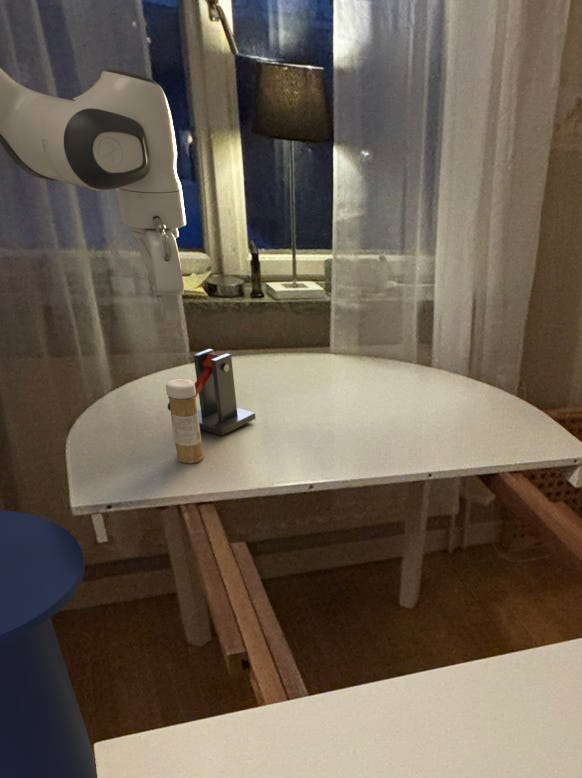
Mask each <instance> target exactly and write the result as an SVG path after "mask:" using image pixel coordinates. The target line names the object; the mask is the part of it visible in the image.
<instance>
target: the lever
mask: <svg viewBox="0 0 582 778" xmlns="http://www.w3.org/2000/svg"><path fill="white" fill-rule="evenodd" d="M219 356H220V355H218V354H215V353H214V354H212V353H209V355H208V356H207V358H206V359H205V360H204V362H203V363H202V365H203V366H204V368H205V370H204V371H203V373H202V374H201V375H200V377H199V378H198V380H197V379H196V381H195V382H194V384H195V390H196V397H195V399H196V398H197V396H199V392H200V391H201V389H202V388H203V386H204V385H205V383H206V382H207V381H208V379H209V378H210V376H211V375H212V374H213V372H212V364H211V359H214V358H217V357H219ZM167 409H168V411H170V403H169V402H168V404H167ZM170 412H171V411H170Z"/></svg>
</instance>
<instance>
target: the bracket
mask: <svg viewBox="0 0 582 778" xmlns="http://www.w3.org/2000/svg"><path fill="white" fill-rule="evenodd" d="M209 353H212V354H215V351H214V349H212V348H208V349H204V350H203V351H200V352H197V353H194V354H193V363H194V370H195V377H196V381H197V380H198V378H199V377H200V375H201V374H202V373H203V371H204V370H205V368H204V366H203V365H202V363H203V362H204V360H205V359H206V358H207V356H208V355H209ZM211 364H212V372H213V374H212V375H211V376H210V378H209V379H208V381H207V382H206V383H205V385H204V386H203V388H202V389H201V391H200V392H199V393H198V399H199V408H200V410H197V412H198V419H199V426H200V430H203V431H206V432H209V433H212V434H215V435H219V436H225V435H226V434H229V433H230V432H232V431H234V430H236V429H238V428H240V427H242V426H244V425H247V424H248V423H250V422H252V421H254V420H256V419H257V418H256V413H255V412H253V411H249V410H246V409H243V408H241V407H238V405H237V398H236V387H235V378H234V369H233V359H232V354H231V353H225V354H224V353H223V354H222V355H219V357H217V358H214V359H211Z"/></svg>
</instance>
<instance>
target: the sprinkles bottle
mask: <svg viewBox="0 0 582 778" xmlns="http://www.w3.org/2000/svg"><path fill="white" fill-rule="evenodd" d="M165 391H166V396H167V398H168V403H170V416H171V418H170V419H171V428H172V434H173V441H174V444H175V452H176V457H175V458H176V460H177V461H178V462H180V463H183V464H195V463H199V462H201V461H202V460H203V459H204V454H203V447H202V435H201V429H200V426H199V419H198V412H197V411H198V405H197V399H196V398H197V396H196V390H195V382H193V381H192V380H189V379H184V378H183V379H179V378H177V379H172V380H169V381H167V382H166V383H165ZM195 397H196V398H195Z"/></svg>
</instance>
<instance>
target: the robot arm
mask: <svg viewBox="0 0 582 778" xmlns="http://www.w3.org/2000/svg"><path fill="white" fill-rule="evenodd" d="M175 135H176V134H175V129H174V125H173V118H172V113H171V109H170V106H169V102H168V98H167V96H166V93H165V92H164V89H163V88H162V86H161V85H160V84H159V83H158V82H156V81H155V80H153V79H152V78H150V77H147V76H144V75H141V74H136V73H131V72H127V71H124V70H120V69H110V68H109V69H106V70H105V69H104V70H103V71H102V72H101V73H100V77H99V79H98V80H97V81H96V82H95V83H94V85H92V87H90V88H89V89H87V90H86V91H85V92H84V93H81V94H80V95H78V96H76V97H73V98H72V99H66V98H62V97H57V96H53V95H48V94H46V93H44V92H40V91H37V90H34V89H31V88H28V87H25V86H23V85H22V84H20V83H18V82H17V81H15V80H14V79H13V78H11V77H10V75H9V74H7V72H6V71H4V70H3V69H2V68H1V67H0V144H1V146H2V147H3V149H4V150H5V152H6V153H7V155H8V156H9V157H10V158H11V160H12V161H13V162H14V163H15V164H16V165H17V166H18V167H19V168H20V169H22V170H23V171H24V172H26V173H27V174H29V175H31V176H32V177H35V178H39V179H41V180H42V179H43V180H49V181H57V182H62V183H66V184H69V185H73V186H76V187H81V188H84V189H89V190H93V191H98V192H99V191H110V190H115V192H116V197H117V205H118V209H119V216H120V221H121V223H122V224H123V225H125V226H127V227H129V228H131V231H132V236H133V237H135V241H136V244H137V248H138V251H139V255H140V257H141V259H142V262H143V264H144V266H145V269H146V271H147V273H148V275H149V277H150V279H151V281H152V283H153V286H154V287H153V288H154V292H155V297H156V298H155V299H156V300H157V301H158V303H162V305H163V312H164V317H165V319H166V320H167V321H168V322H176V321H178V320H179V310H178V305H179V303H178V301H179V299H178V298H179V297H178V296H182V295H184V293H185V285H184V277H183V272H182V265H181V264H182V263H181V260H180V253H179V248H178V244H177V240H176V239H178V238H179V237H180V235H179V229H181V228H183V227H185V226H186V225H187V219H186V212H185V205H184V196H183V189H182V184H181V181H180V178H179V176H178V172H177V159H178V151H177V143H176V142H177V141H176V136H175Z"/></svg>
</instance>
